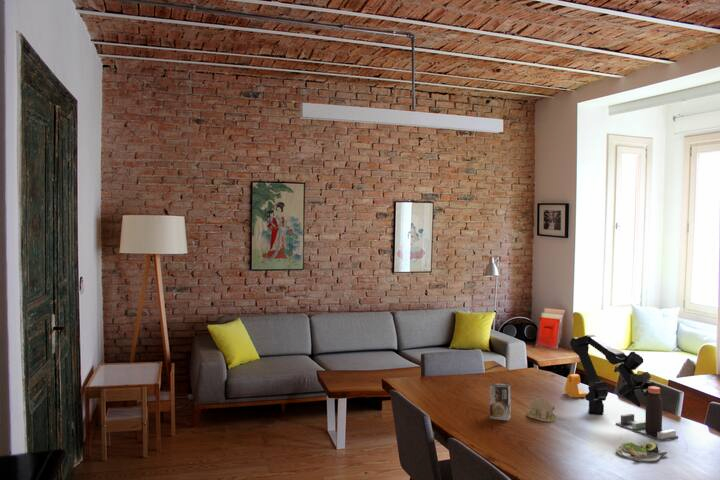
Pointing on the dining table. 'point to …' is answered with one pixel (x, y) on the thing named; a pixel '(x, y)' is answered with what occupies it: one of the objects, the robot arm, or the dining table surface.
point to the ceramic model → (541, 410)
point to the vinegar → (653, 411)
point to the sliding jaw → (632, 421)
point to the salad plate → (641, 451)
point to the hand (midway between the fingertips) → (647, 405)
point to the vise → (659, 436)
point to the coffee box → (500, 401)
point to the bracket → (573, 386)
